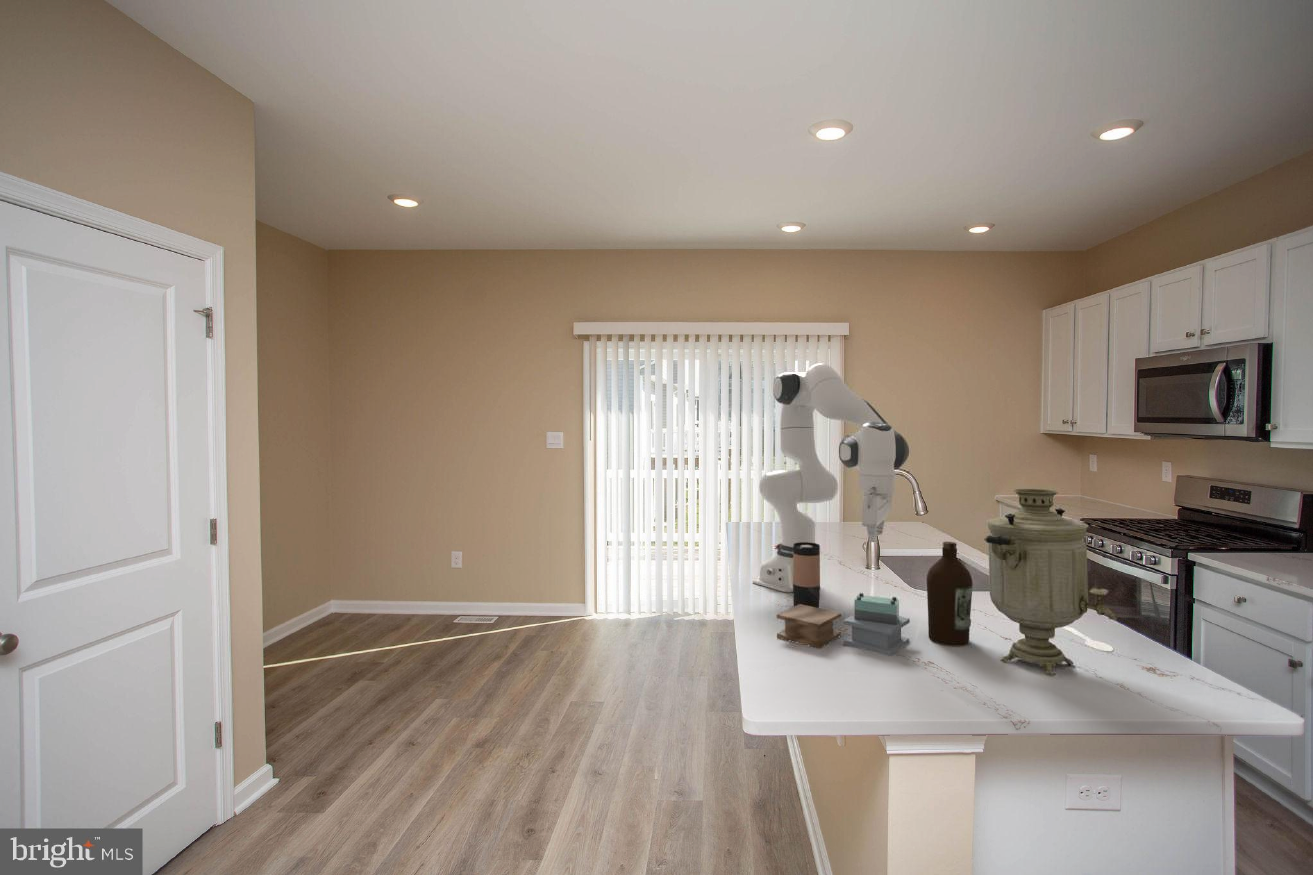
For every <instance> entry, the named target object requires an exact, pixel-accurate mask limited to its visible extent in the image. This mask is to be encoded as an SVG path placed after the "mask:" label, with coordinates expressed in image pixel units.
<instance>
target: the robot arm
mask: <svg viewBox="0 0 1313 875" xmlns="http://www.w3.org/2000/svg"><path fill="white" fill-rule="evenodd" d="M845 383H846V382H844V380H843V379H842V377H841V376H840V375H839V373H838V372H837V371H836V370H835V369H834V367H832V366H830V364H826V363H823V362H821V363H816V364H813V365H811V366H810V367H809V368H808V369H807V370H806V371H799V372H798V371H797V372H796V371H795V372H791V371H786V372H782V373H779V374H778V375H777V376H776V377H775V379H774V381H773V385H772V386H773V387H772V390H773V391H772V392H773V398H774V399H775V400H776V402H778V403H779V404H781V405H782V406H781V413H780V426H779V428H780V430H779V431H780V451H781V453H782V455H783V456H785V457H786V458H787V459H789V460H791V461H794V462H795V463H796V464H797V465H798V468H799V469H797V470H796V469H795V470H791V469H790V470H789V469H788V470H786V469H785V470H783V469H781V470H775V471H773V470H772V471H769V472H765V473H764V474H763V475H762V477H760V478H761V479H760V481H759V486H758V488H759V493H760V494H761V497H762V499H764V500H765V501H766V502H767V503H768V504H770V505H771V506H772V508H773V509H774V510H775V511H776V514H777V515H778V518H779V521H780V530H781V531H780V532H781V535H780V536H781V542H780V543H777V545H776V544H775V545H774V550H777V551H776V553H775V554H774V555H773V556H771V557H769V558H768V559H767V560H766V561H764V562H763V563H762V564H761V566H760V568H759V569H760V571H759V575H758V576H754V578H753V580H752V583H753V584H755V585H760V586H762V587H766V588H770V589H772V590H776V591H780V592H783V593H791V592H792V593H793V545H794V544H795V543H799V542H809V543H816V523H815V521H814V519H813V518H812V517H811V516H809V515H807V514H806V513H804V512H802V511H799V509H798V504H820V503H826V502H830V501H833V500H834V499H835V497H836V496H837V494H838V491H839V483H838V480H837V478H836V476H835V475H834V474H833V473H832V472H831V471H829V470H828V469H827V468H826V467H825V466H824V465H823V464H822V463H821V461H820V459H819V457H818V454H817V450H816V442H815V429H814V428H815V427H814V426H815V425H814V411H817V412H818V413H819V414H820V415H821V416H822V417H824V418H826V419H829V420H835V421H842V422H847V423H852V424H854V425H855V424H856V425H858V426H860V427H861V428H860V429H859V430H858V431H856V432H854V433H851V434H847V435H846V436H844V437H843V438H842V440H841V441H840V443H839V446H838V458H839V461H840V462H841V463H842V464H843V466H844V467H846V468H848V469H854V470H855V469H856V470H859V473H858V476H859V478H858V479H859V480H858V491H859V492H861V493H863V498H862V505H861V506H862V507H861V526H862V527H866V531H867V535H868V536H867V538H868V539H867V540H868V542H869V543H875V542H877V536H878V535H879V536H882V535H883V534H884V527H885V522H886V521H885V520H886V518H887V517H888V516H889V515H890V513H891V508H892V500H893V499H892V498H893V494H895V493H896V470H898V469H900V468H902V466H903V465H904V464H905V463H906V461H907V460H908V458H909V455H910V448H909V447H910V446H909V444H908V442H907V440H906V439H905V437H903V435H901V433H899V432H897V431H896V430H895V429H894V428H893V426H892V425H890V424H888V422H887V421H886V420H885V419H884V418H883V417H882V416H881V415H880V413H879V412H878V410H876V409H875V408H874V407H873V406H872V404H870V403H869V402H868V401H866V400H865V399H863V398H862V397H860V395H858V394H857V393H854V392H853V391H852V390H851V389H850V388H849V387H848V386H847V385H846V384H845ZM815 409H816V410H815Z"/></svg>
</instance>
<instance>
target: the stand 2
mask: <svg viewBox="0 0 1313 875" xmlns="http://www.w3.org/2000/svg"><path fill="white" fill-rule="evenodd" d="M908 624H910V618H909V617H904V616H899V620H898V623H897V625H892V624H885V623H877V622H870V621H863V620H856V619H854V614H852V615H850V616H849V617H847V618H845V619H844V620H843V625H845V626H851V634H850V635H849V636H847V637H846V638H844V639H843V645H846V644H847V645H846V646H850V645H851V646H852V647H855V648H859V649H863V650H867V651H870V652H875V653H878V654H882V655H886V656H891V657H892V656H893V655H894V654H896V653H897V652H898V651H900V650H901V649H902V648H903V647H905V646H906V645H907V644H909V643H910V637H906V636H902V629H903V627H905V626H907V625H908ZM851 646H850V647H851Z"/></svg>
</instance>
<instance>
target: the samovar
mask: <svg viewBox="0 0 1313 875" xmlns="http://www.w3.org/2000/svg"><path fill="white" fill-rule="evenodd" d="M1013 492H1014V493H1015V494H1017V495H1018V496H1017V497H1018V504H1019V505H1020V506H1021V510H1017V511H1014V512H1012V513H1008V514H1005V515H1004V516H998V517H995V518H992V519H988V520H987V521H986V522H987V523H986V524H987V527H988V530H989V533H990V535H989V534H988V535H987V536H986V537H985V538H984V541H985V542H986V543H987V544H988V545H987V546H988V578H989V584H988V585H989V597H990V600H991V602H992V604H993V605H994V607H995V608H996V609H997V611H999V612H1000V613H1002V614H1003V615H1004V616H1006V618H1008V619H1009V620H1010V621H1012V622H1014V623H1017V624H1018V625H1019V626H1018V629H1019V630H1018V631H1019V633H1020V634H1022V635H1024V638H1020V639H1018V640H1017V641H1015V642H1013V643H1012V644H1011V647H1010V650H1009V653H1008V654H1006V655H1005V656H1003V657H1001V658H1000V662H1001V663H1008V662H1010V661H1012V660H1014V659H1019V660H1021V661H1022V662H1028V663H1030V664H1037V665H1039V666H1041V667H1042V668H1043V669H1044V670H1045V675H1047V676H1049V677H1057V676H1058V674H1057V673H1056V671H1055V670H1054V669H1055V667H1056V665H1057V664H1058V665H1062V663H1064V662H1065V663H1068V664H1070V666H1071V667H1072V666H1073V665H1074V661H1072V660H1071V659H1069V658H1067V657H1066V655H1065V654H1064V652H1063V651H1062V649H1060V648H1058V647H1057V646H1056V644H1054V643H1052V642H1051V641H1050V639H1052V638H1055V636H1056V629H1058V628H1062V627H1064V626H1067V627H1068V626H1069V625H1071V624H1073V623H1074V622H1076V621H1077V620H1080V619H1081V618H1082V617H1083V616H1084V614H1086V613H1087V612H1088V609H1089V610H1092V611H1096V614H1097V615H1099V616H1104V615H1105V616H1107V618H1108V620H1112V621H1113V620H1114V621H1115V620H1117V617H1116V616H1115V614H1114V613H1113V611H1111V610H1110V609H1109V608H1108V607H1107V606H1105V604H1104V603H1103V600H1102V596H1106V595H1107V593H1109V590H1108V589H1105V588H1102V587H1096V586H1095V587H1091V588H1090V590H1089V589H1088V587H1089V586H1088V583H1089V582H1088V554H1087V553H1088V552H1087V551H1088V550H1087V548H1088V547H1087V546H1088V545H1087V544H1086V542H1085V541H1084V539H1085V536H1086V534H1087V529H1088V528H1089V524H1087V523H1085V522H1082V521H1080V520H1075V519H1070V518H1066V517H1063V514H1064V513H1065V512H1066V510H1064V509H1063V508H1055V509H1054V510H1055V511H1051V508H1052V507H1053V506H1054V496H1055V495H1057V494H1058V493H1059V491H1058V490H1054V489H1041V488H1017V489H1013ZM1089 593H1090V594H1093V595H1096V597H1097V600H1096V604H1091V603H1089Z"/></svg>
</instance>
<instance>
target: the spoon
mask: <svg viewBox="0 0 1313 875" xmlns="http://www.w3.org/2000/svg"><path fill="white" fill-rule="evenodd" d="M1061 628H1062V629H1063V630H1066V631H1068V632H1070V633H1072V634H1073V635H1075V636H1077V637H1079V638H1081V639H1083V640H1085V641H1084V643H1083V644H1084V645H1085V646H1087V647H1089V648H1092V649H1093V650H1097V651H1100V652H1101V651H1102V652H1106V653H1111V652H1113V651H1114V648H1113V647H1112V646H1111V645H1109V644H1107V643H1105V642H1102V641H1097V640H1094V639H1091V638H1090V637H1088V636H1086V635H1085V634H1083V633H1082V632H1079V631H1078V630H1077V629H1075V628H1074V627H1071V626H1068V625H1067V626H1064V627H1061Z"/></svg>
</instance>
